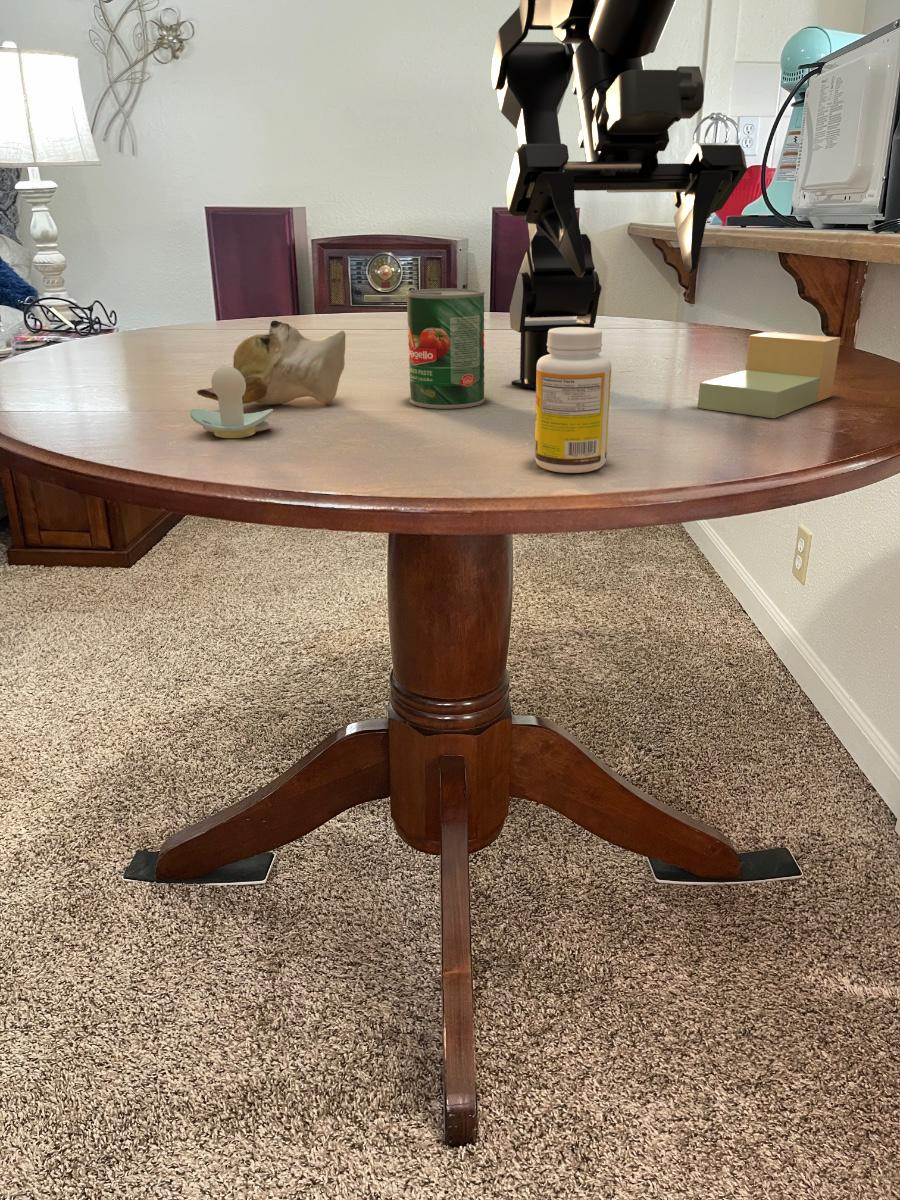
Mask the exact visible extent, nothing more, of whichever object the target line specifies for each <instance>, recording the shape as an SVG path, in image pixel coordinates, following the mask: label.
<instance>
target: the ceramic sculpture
mask: <svg viewBox="0 0 900 1200" xmlns="http://www.w3.org/2000/svg"><path fill="white" fill-rule="evenodd" d="M268 330H269V331H268V332H267V333H255V334H252V335H250V336H248V337H247V338H245V339H243V340H242V341H241V342H240V343H239V344H238V345H237V347H236V349H235V350H234V353H233V357H232V358H233V361H232V362H233V363H232V367H233V368H235V369H237V370H238V371H239V372H240V373H241V374H242V376H243V377H244V379H245V383H246V390H245V393H244V395H243V396H242V403H243V405H246V404H250V403H253V402H254V403H256V404H259V405H262V406H277V405H283V404H287V403H289V402H292V401H294V400H296V399H299V398H306V397H309V398H313V399H315V400H316V401H317V402H319V403H322V404H327V403H330V402H332V401H333V400H334V399H335V397H336V396H337V393H338V388H339V383H340V378H341V376H342V374H343V371H344V369H345V364H346V363H345V361H346V360H345V354H346V335H347V334H346V332H345V330H340V331H338V332H336V333H334V334H330V335H327V336H325V337H323V338H319V339H309V338H307V337H305V336H303V335H302V333H300V331H299V330H298V329H297V328H296V327H295V326H292V325H290V324H289V323H287V322H281V321H278V320H271V321H270V325H269V328H268ZM196 394H197V395H198V396H201V397H204V398H207V399H211V400H214V401H217V402H218V396H217V395H216V394H215V393H214V391H213V389H212V387H207V388H202V389H201V388H200V389H198V390H196Z"/></svg>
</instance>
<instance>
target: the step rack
mask: <svg viewBox="0 0 900 1200" xmlns="http://www.w3.org/2000/svg"><path fill="white" fill-rule="evenodd" d="M840 343H841V337H840V336H828V335H816V334H815V335H813V334H801V333H787V332H772V331H763V332H759V333H755V334H751V335H749V336H748V344H747V352H746V361H745V369H742V370H740V371H736V372H733V373H729V374H726V375H722V376H720V377H716V378H712V379H708V380H704V381H702V382H699V388H698V396H697V397H698V398H697V400H698V401H697V409H700V410H701V409H702V410H709V411H716V412H724V413H731V414H738V415H746V416H752V417H753V416H754V417H758V418H759V417H760V418H767V419H777V418H779V417H782V416H784V415H787V414H789V413H792V412H794V411H797V410H799V409H802V408H805V407H807V406H810V405H813V404H815V403H818V402H821V401H823V400H826V399H828V398H831V397H832V395H833V388H834V383H835V376H836V369H837V363H838V357H839V351H840Z"/></svg>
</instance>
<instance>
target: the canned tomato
mask: <svg viewBox="0 0 900 1200" xmlns="http://www.w3.org/2000/svg"><path fill="white" fill-rule="evenodd" d="M485 293H486V292H485V290H482V289H477V288H476V289H475V288H447V287H446V288H423V289H413V290H408V291H406V292H405V294H406V302H407V303H406V306H407V309H406V312H407V332H408V333H407V338H408V342H407V343H408V344H407V345H408V363H409V367H408V369H409V370H408V371H409V393H410V394H409V395H410V397H409V402H410V403H411V405H414V406H416V407H420V408H427V409H439V410H440V409H442V410H448V409H449V410H451V409H465V408H466V409H467V408H472V407H477V406H480V405H482V404H484V403H485V401H486V400H485V399H486V398H485Z"/></svg>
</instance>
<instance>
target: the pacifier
mask: <svg viewBox="0 0 900 1200" xmlns="http://www.w3.org/2000/svg"><path fill="white" fill-rule="evenodd" d="M210 384H211V388H212V389H213V391H214V393H215V394H216V395H217V396H218V401H217V402H218V411H214V410H207V409H200V408H195V409H190V410H189V416H190V418H191V420H192V421H194V422H195V423H196V424H197V425H199V426H201V427H202V428H203V429H204V430H205V431H207V432H210V433H211V432H212V433H213V435H214V436H215V437H217V438H221V439H241V438H247V437H251V436H253V435H255V434H256V432H262V431H266V430H269V429H271V428H273V426H274V423H273V421H272V422H271V420H267V419H269V418H270V416H271V415H272V414H273V412H274V409H273V408H269V409H266V410H262V411H256V412H250V413H244V404H243V403H242V396H243V395H244V393H245V390H246V383H245V379H244V377H243V376H242V374H241V373H240V372H239V371H238V370H237V369H235V368H234V367H233V366H230V365H221V366H219V367H217V368H216V369H214V371H213V373H212V375H211V379H210Z"/></svg>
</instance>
